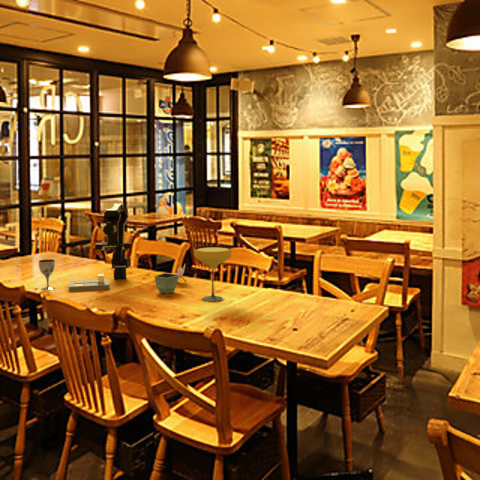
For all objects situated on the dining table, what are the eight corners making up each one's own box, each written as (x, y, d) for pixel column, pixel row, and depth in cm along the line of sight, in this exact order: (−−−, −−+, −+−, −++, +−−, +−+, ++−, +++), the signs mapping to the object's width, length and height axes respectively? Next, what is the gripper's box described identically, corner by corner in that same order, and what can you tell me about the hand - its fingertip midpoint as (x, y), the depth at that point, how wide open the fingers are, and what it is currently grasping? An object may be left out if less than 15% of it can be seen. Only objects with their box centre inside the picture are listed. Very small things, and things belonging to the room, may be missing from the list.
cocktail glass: (187, 301, 268) (187, 250, 264) (203, 293, 285) (203, 244, 281) (222, 305, 262) (222, 252, 258) (236, 296, 278) (237, 247, 275)
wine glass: (41, 291, 288) (39, 262, 285) (38, 288, 295) (37, 260, 292) (57, 289, 291) (55, 261, 289) (54, 286, 298) (53, 258, 296)
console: (108, 283, 306) (108, 278, 305) (109, 289, 292) (109, 284, 292) (70, 285, 301) (70, 280, 300) (69, 291, 287) (69, 286, 287)
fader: (103, 283, 301) (103, 273, 300) (104, 285, 296) (103, 275, 295) (98, 283, 300) (97, 273, 299) (98, 285, 295) (98, 275, 294)
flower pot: (167, 295, 280) (167, 277, 279) (154, 293, 285) (154, 275, 283) (178, 291, 288) (178, 274, 286) (165, 289, 292) (165, 272, 291)
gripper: (129, 230, 306) (130, 258, 308) (94, 231, 301) (95, 260, 303) (131, 233, 295) (131, 262, 297) (94, 234, 290) (95, 263, 293)
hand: (113, 262), depth 298 cm, fingers open, 8 cm apart
